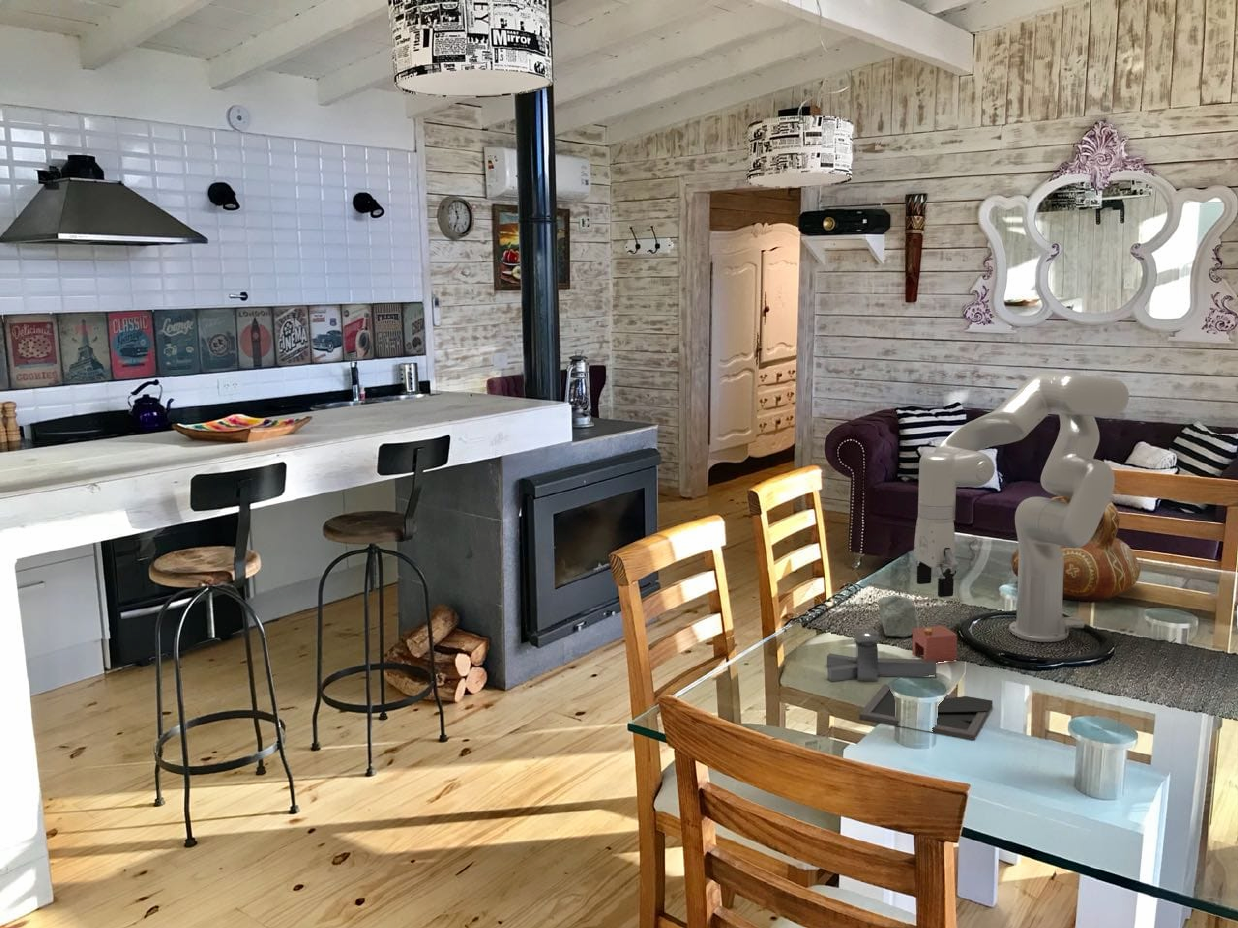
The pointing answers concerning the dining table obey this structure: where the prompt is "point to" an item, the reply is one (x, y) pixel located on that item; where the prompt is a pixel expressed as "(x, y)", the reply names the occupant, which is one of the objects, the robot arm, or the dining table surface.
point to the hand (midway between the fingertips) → (934, 589)
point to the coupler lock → (935, 643)
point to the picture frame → (953, 713)
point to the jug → (1096, 563)
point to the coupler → (874, 662)
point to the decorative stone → (898, 616)
